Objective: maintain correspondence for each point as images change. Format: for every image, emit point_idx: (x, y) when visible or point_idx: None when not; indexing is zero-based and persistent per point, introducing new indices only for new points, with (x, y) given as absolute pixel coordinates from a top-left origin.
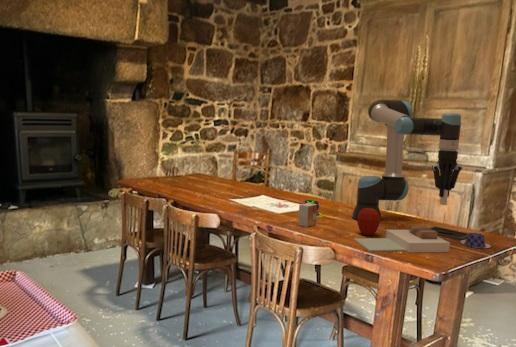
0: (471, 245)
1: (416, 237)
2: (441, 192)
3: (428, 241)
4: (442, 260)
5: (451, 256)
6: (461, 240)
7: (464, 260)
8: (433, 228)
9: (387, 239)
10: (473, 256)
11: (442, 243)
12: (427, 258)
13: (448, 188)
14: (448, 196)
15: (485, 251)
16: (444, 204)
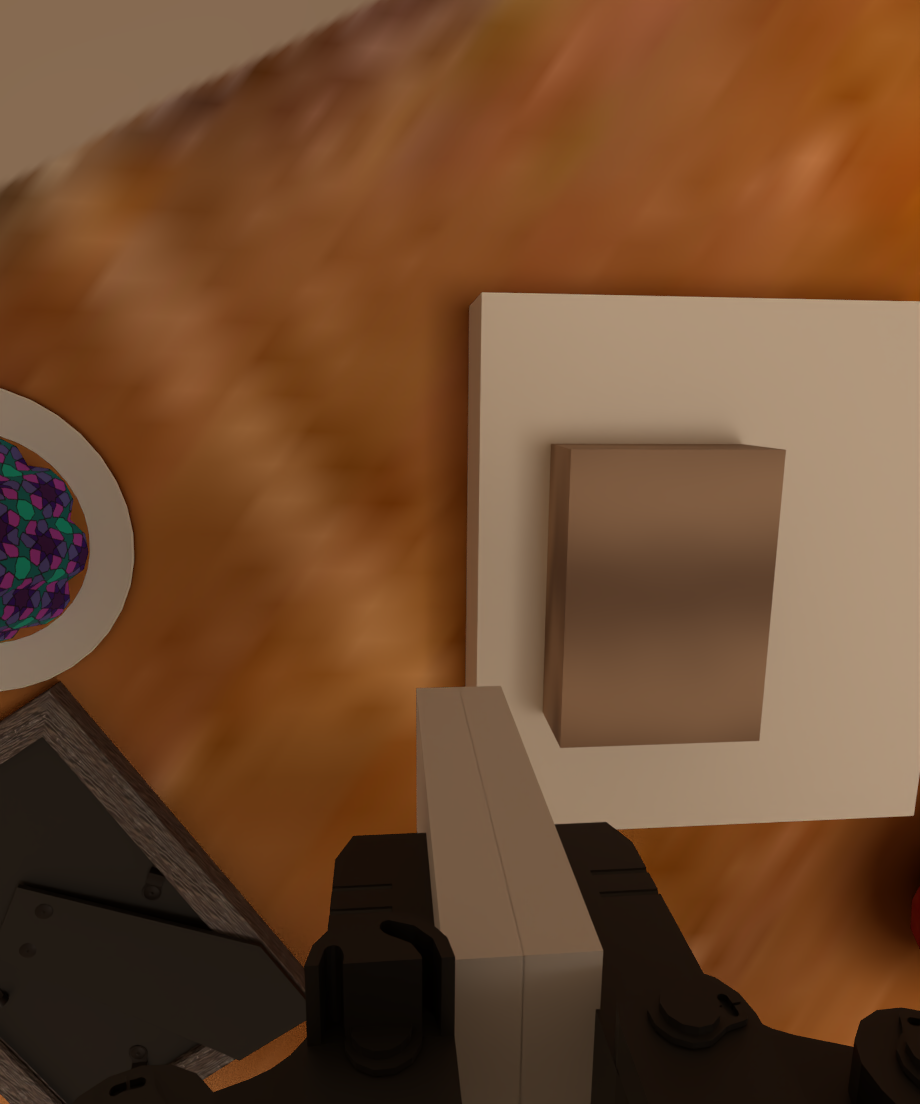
0: (59, 487)
1: None
2: (669, 923)
3: (723, 350)
4: (721, 42)
5: (537, 160)
6: (65, 669)
7: (478, 15)
8: None
9: None
10: (280, 137)
11: (576, 296)
12: (835, 120)
13: (420, 1048)
14: (353, 849)
15: (5, 299)
16: (480, 691)
